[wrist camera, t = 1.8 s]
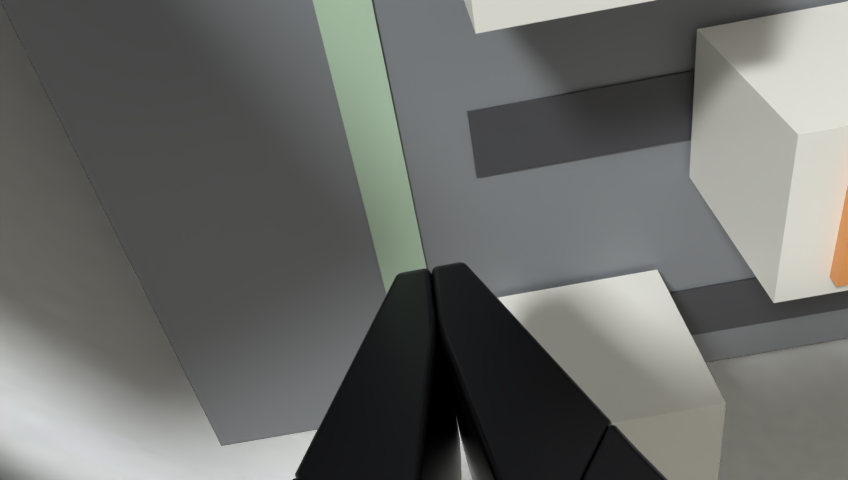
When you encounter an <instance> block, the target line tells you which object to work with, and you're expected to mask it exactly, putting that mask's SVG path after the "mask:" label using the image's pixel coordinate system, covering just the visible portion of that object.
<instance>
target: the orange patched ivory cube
mask: <svg viewBox="0 0 848 480" xmlns="http://www.w3.org/2000/svg"><path fill="white" fill-rule="evenodd" d="M689 177H690V179H691V180H692V182H693V183H694V185H695V186H696V188H697V189H698V191H699V192H700V194H701V195H702V197H703V198H704V200H705V201H706V203H707V204H708V206H709V207H710V209H711V210H712V212H713V213H714V215H715V216H716V218H717V219H718V221H719V222H720V224H721V225H722V227H723V228H724V230H725V231H726V233H727V234H728V236H729V237H730V239H731V240H732V242H733V243H734V245H735V246H736V248H737V249H738V251H739V252H740V254H741V255H742V257H743V258H744V260H745V261H746V262H747V264H748V265H749V267H750V268H751V270H752V271H753V273H754V274H755V276H756V277H757V279H758V280H759V282H760V283H761V285H762V286H763V288H764V289H765V291H766V292H767V294H768V295H769V297H770V298H771V300H772V301H773V303H778V302H783V301H789V300H795V299H801V298H806V297H812V296H818V295H824V294H829V293H835V292H841V291H847V290H848V1H847V2H841V3H836V4H830V5H825V6H820V7H814V8H809V9H803V10H798V11H793V12H787V13H782V14H776V15H771V16H766V17H760V18H755V19H749V20H744V21H738V22H733V23H728V24H722V25H717V26H711V27H706V28H701V29H697V39H696V58H695V77H694V96H693V116H692V135H691V154H690V173H689Z"/></svg>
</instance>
